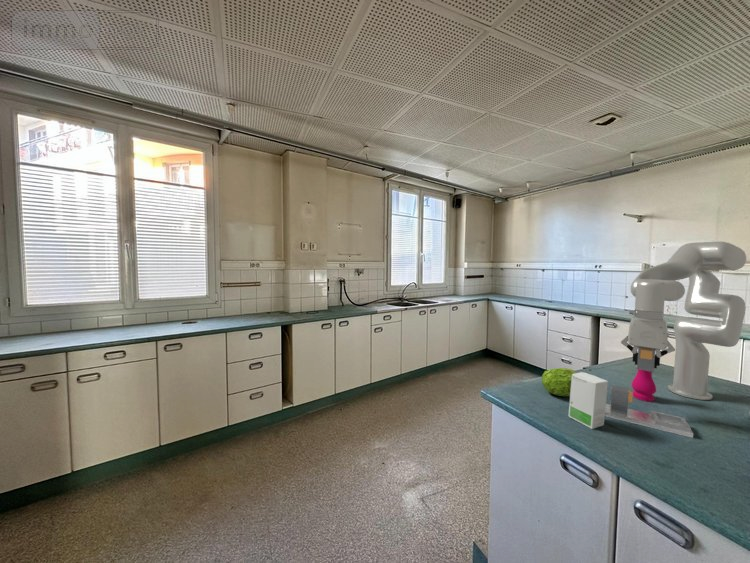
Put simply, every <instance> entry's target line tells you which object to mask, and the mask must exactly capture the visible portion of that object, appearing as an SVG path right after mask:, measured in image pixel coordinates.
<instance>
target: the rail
mask: <svg viewBox="0 0 750 563" xmlns="http://www.w3.org/2000/svg"><path fill="white" fill-rule="evenodd" d="M633 398H634V397H633V391H631V390H628V388H627V387H622V386H617V385H612V384H611V385H610V399H609V400H610V402H609V403H610V404H609V403H606V408H605V417H607V418H611V419H614V420H619V421H623V422H627V423H631V424H636V425H638V426H643V427H647V428H651V429H656V430H660V431H664V432H666V433H672V434H676V435H679V436H682V437H687V438H692V439H693V438H694V432H693V431H692V428H691V426H690V424H689V423H688V422H687V420H686V418H685V417H681V416H677V415H673V414H669V413H664V412H659V411H654V410H650V412H651V413H648V412H645V411H639V410H635V409H630V408H628V407H629V406H628V405H629V403H631V404H633Z"/></svg>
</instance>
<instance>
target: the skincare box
mask: <svg viewBox="0 0 750 563" xmlns="http://www.w3.org/2000/svg"><path fill="white" fill-rule="evenodd" d="M608 385H609V381H608V380H606V379H605V378H602V377H598V376H597V375H594V374H590V373H588V372H587V373H586V372H584V371H581V372H577V373H576V374H572V380H571V391H570V396H569V404H568V406H569V407H568V417H569V418H570V419H572V420H574V421H575V422H578V423H579V424H581V425H584V426H586V427H587V428H589V429H591V430H593V429H597V428H599V427H600V428H601V427H602V426H603V427H604V425H605V417H606V416H605V408H606V404H607V396H608Z"/></svg>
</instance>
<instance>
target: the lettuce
mask: <svg viewBox="0 0 750 563" xmlns="http://www.w3.org/2000/svg"><path fill="white" fill-rule="evenodd" d="M576 373H578V371H577V372H576V370H573V369H571V368H567V367H559V368H556V367H554V368H551V369H547V370H544V372H543V374H541V383H542V386H543V388H544V389H545V390H546V392H547V393H549V394H552V395H555V396H559V397H570V391H571V380H572V374H576Z"/></svg>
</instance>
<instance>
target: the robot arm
mask: <svg viewBox="0 0 750 563" xmlns="http://www.w3.org/2000/svg"><path fill="white" fill-rule="evenodd" d="M746 263H747V254H746V253H745V251H744V250H743V249H742V248H741V247H738V246H736V245H734V244H732V243H730V242H726V241H704V242H703V241H702V242H698V241H697V242H688V243H685V244H682V245H681V246H680V247H679V248H678V249H677V250H676V251H675V252H674V254H673V255H672V256H671V257H670V258H669V259H668V260H666V261H665V262H663V263H659V264H657V265H653V266H652V267H649V268H646V269H644V270H643V271H641V272H640V273H639V274H638V275H637V276H636V277H635V278H634V279H633V282H632V283H631V285H630V293H631V295H632V296H633V297H634V298H635V299H634V300H635V301H634V304H635V305H634V309H633V310H629V315H632V316H633V317H631V319H630V322H629V327H628V335H627V336H626V337H624V338H623V339H622V340H621V341H620V344H621V345H623V346H624V347H626V348H627V349H628V350H629V351H630V352H631V353H632V362H634V365H636V366H637V360H638V347H644V348H651V349H655V362H654V369H657V368H658V367H660V365H661V364H660V362H661V358H662V357H663V356H665V355H667V354H670V353H673V352H675V353H674V366H673V381H672V383H671V384H669V385H667V389H668V391H669V392H672V393H674V394H676V395H679V396H682V397H686V398H689V399H694V400H701V401H711V400H713V395H712V393H710V392H708V382H709V381H708V380H709V369H710V351H709V350H708V349H707V347H706V346H705V345H704V344H708V345H714V346H718V347H719V346H720V347H725V348H727V347H728V348H731V347H735V346H737V344H739V340H740V339H741V338H740V337H741V334H742V330H743V329H742V328H743V324H744V320H745V314H746V308H747V307H746V301H745V300H744V299H743V297H741V296H739V295H735V294H729V293H728V294H727V293H720V288H721V282H720V279H718V277H717V276H716V275H715V274H713V273H712V272H711V271H736V270H740V269H742V268H744V266H745V265H746ZM684 279H688V280H689V283H688V287H687V288H688V289H687V293H686V289H685V286H684V284H683V283H682V282H680V280H684ZM685 293H686V295H685ZM684 296H685V299H684V300H685V302H684V310H685V312H687V313H688V314H691V315H693V316H699V317H700V316H701V317H708V318H717V319H722V320H717V319H716V320H715V319H708V318H701V317H700V318H699V317H690V316H685V317H679V318H677V319H676V320H675V321H674V323H673V332H674V338H675V347H674V346H673V344H671V342H670V341H669V340H668V339H669V338H668V337H669V336H668V334H669V333H668V323H667V321H666V320H665V319H664V312H665V302H666V301H667V302H677V301H679V300H681V299H682V298H683V297H684Z"/></svg>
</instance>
